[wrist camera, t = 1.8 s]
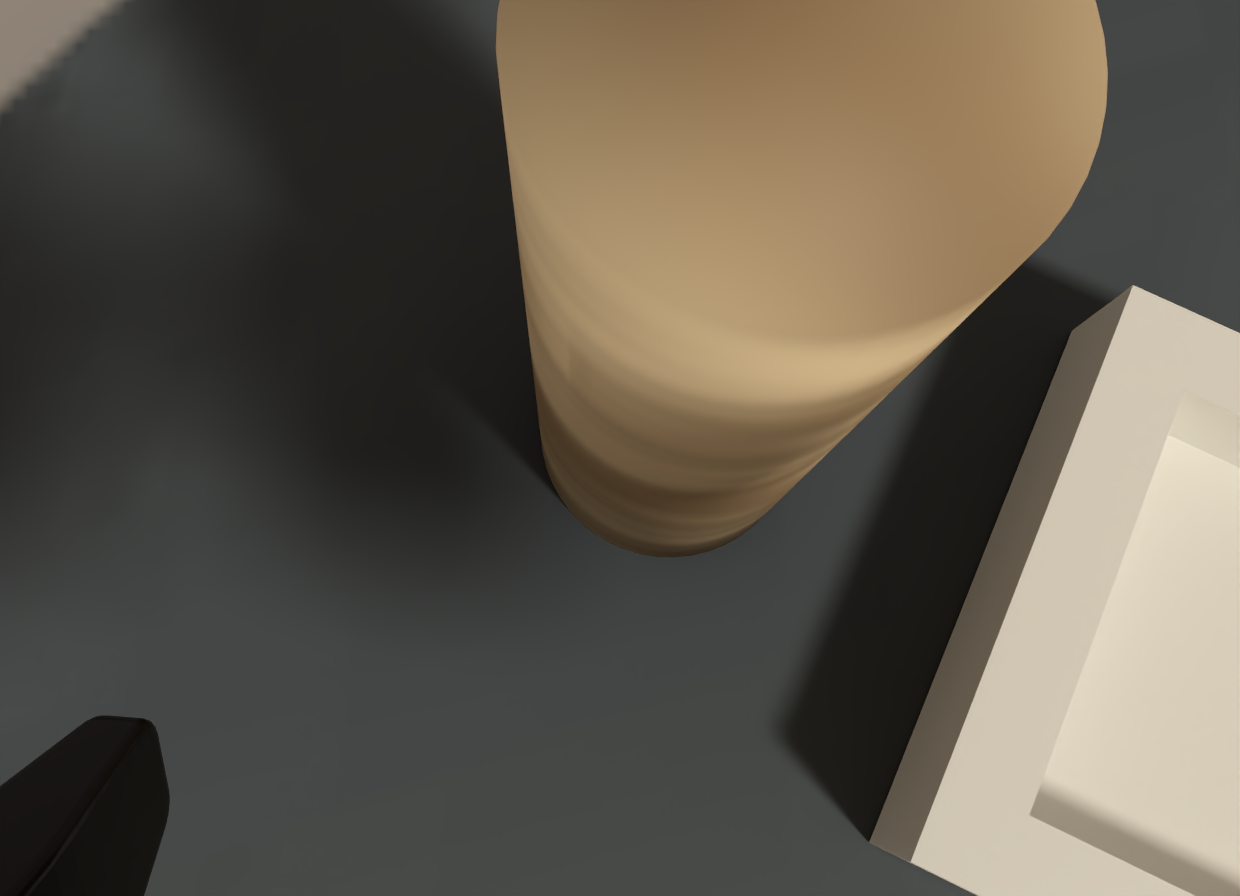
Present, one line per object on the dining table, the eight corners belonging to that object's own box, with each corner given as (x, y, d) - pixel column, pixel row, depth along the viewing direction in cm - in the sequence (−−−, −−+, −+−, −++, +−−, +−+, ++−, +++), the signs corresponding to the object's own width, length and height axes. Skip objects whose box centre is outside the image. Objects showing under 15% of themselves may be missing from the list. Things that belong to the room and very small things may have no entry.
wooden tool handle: (654, 610, 21) (786, 466, 8) (488, 416, 21) (368, 0, 9) (844, 446, 22) (1231, 84, 9) (679, 264, 22) (820, -310, 10)
